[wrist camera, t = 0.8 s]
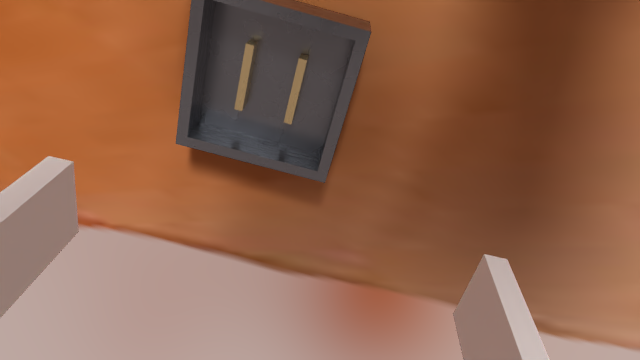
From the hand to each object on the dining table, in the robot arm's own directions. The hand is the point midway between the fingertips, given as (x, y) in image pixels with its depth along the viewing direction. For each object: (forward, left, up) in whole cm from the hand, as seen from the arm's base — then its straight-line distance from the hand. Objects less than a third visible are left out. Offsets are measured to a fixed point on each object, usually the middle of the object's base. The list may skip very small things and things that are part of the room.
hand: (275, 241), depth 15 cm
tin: (+2, -3, -22) cm, 22 cm away
